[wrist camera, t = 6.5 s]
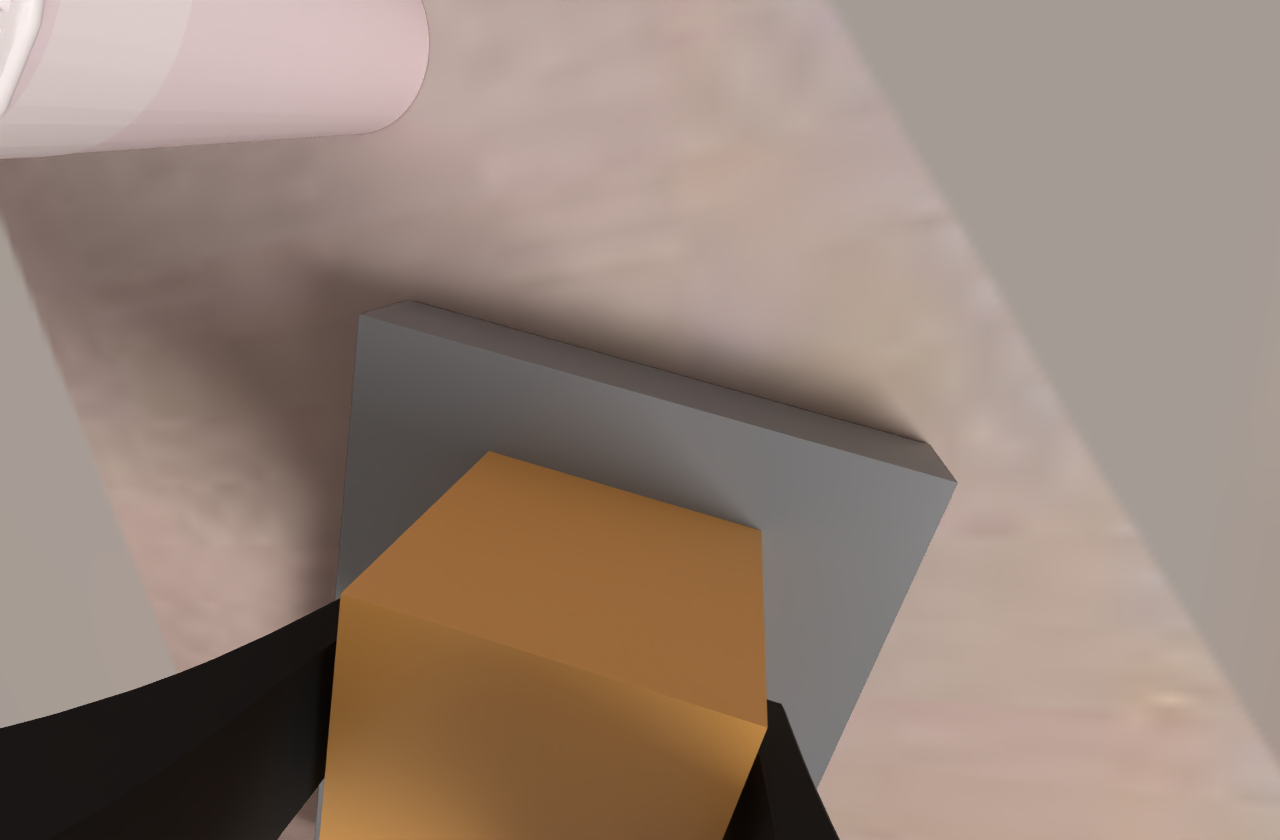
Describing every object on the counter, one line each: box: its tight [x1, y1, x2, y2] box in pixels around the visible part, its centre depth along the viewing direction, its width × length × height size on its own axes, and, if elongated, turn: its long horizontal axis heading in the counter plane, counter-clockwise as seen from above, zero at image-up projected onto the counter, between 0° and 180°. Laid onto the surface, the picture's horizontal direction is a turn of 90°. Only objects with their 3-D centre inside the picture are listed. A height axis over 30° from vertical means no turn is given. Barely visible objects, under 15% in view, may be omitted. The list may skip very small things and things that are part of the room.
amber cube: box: [319, 451, 768, 840], centre depth 12 cm, size 6×6×5 cm
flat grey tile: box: [315, 300, 958, 840], centre depth 15 cm, size 18×12×5 cm, turn 166°
